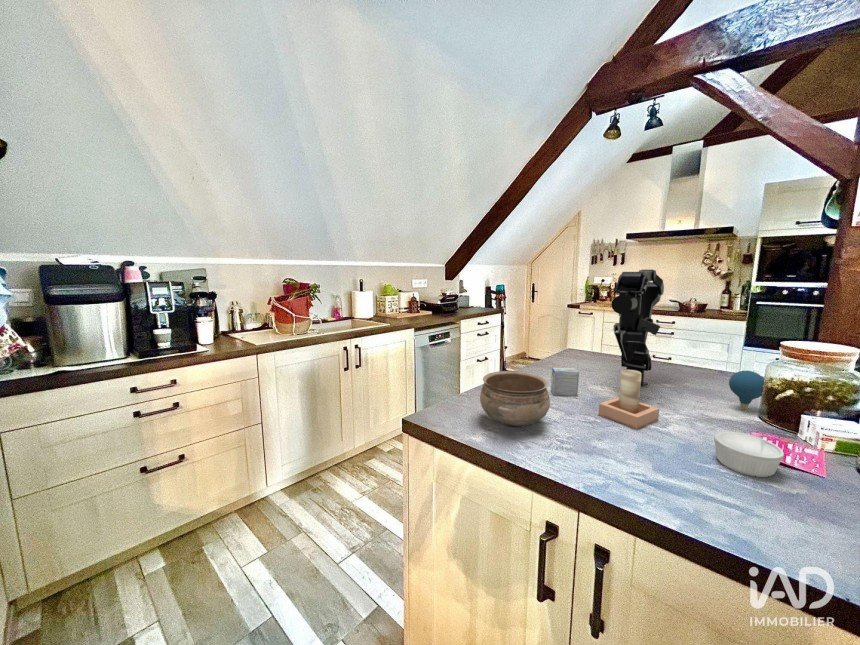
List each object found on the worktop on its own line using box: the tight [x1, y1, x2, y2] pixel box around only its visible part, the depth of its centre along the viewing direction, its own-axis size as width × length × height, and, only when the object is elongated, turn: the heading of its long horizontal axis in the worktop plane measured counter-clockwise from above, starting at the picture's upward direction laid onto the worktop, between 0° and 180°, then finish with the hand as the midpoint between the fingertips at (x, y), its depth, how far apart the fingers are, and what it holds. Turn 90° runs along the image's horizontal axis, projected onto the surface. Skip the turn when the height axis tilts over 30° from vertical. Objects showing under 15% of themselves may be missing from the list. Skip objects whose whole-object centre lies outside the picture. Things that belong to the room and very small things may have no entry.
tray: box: [598, 396, 660, 430], centre depth 100 cm, size 11×11×4 cm
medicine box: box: [550, 367, 580, 397], centre depth 118 cm, size 8×4×9 cm, turn 84°
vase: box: [618, 369, 642, 414], centre depth 99 cm, size 5×5×13 cm
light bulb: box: [728, 370, 766, 411], centre depth 104 cm, size 8×8×12 cm
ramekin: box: [713, 431, 785, 478], centre depth 76 cm, size 11×11×5 cm
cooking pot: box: [479, 370, 551, 428], centre depth 97 cm, size 25×19×12 cm
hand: (626, 357), depth 116 cm, fingers open, 9 cm apart
